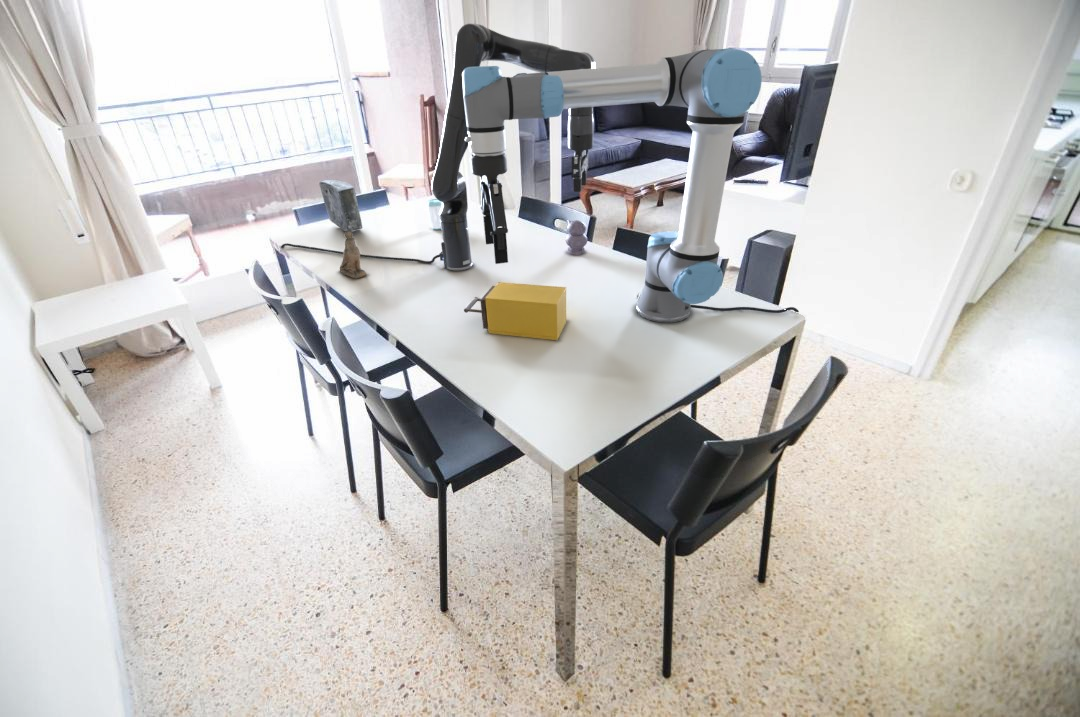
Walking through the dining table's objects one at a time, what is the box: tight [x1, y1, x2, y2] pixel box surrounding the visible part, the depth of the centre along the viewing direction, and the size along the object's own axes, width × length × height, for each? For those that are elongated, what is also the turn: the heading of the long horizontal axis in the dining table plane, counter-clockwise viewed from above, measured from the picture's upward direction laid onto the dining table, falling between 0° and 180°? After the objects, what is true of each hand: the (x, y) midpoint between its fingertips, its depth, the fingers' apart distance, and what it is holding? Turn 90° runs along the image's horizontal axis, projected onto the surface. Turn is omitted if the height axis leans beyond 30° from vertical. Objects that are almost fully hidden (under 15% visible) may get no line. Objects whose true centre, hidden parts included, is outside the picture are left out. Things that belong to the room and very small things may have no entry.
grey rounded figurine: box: [565, 219, 588, 256], centre depth 186 cm, size 8×8×12 cm
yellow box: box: [485, 281, 567, 341], centre depth 136 cm, size 20×11×11 cm, turn 75°
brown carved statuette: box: [339, 230, 367, 280], centre depth 174 cm, size 12×6×18 cm, turn 43°
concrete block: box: [318, 178, 363, 233], centre depth 220 cm, size 27×9×20 cm, turn 36°
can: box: [426, 198, 443, 230], centre depth 220 cm, size 7×7×12 cm
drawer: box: [463, 285, 496, 330], centre depth 137 cm, size 24×10×9 cm, turn 75°
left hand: (580, 188), depth 155 cm, fingers open, 8 cm apart
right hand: (496, 252), depth 113 cm, fingers open, 13 cm apart
